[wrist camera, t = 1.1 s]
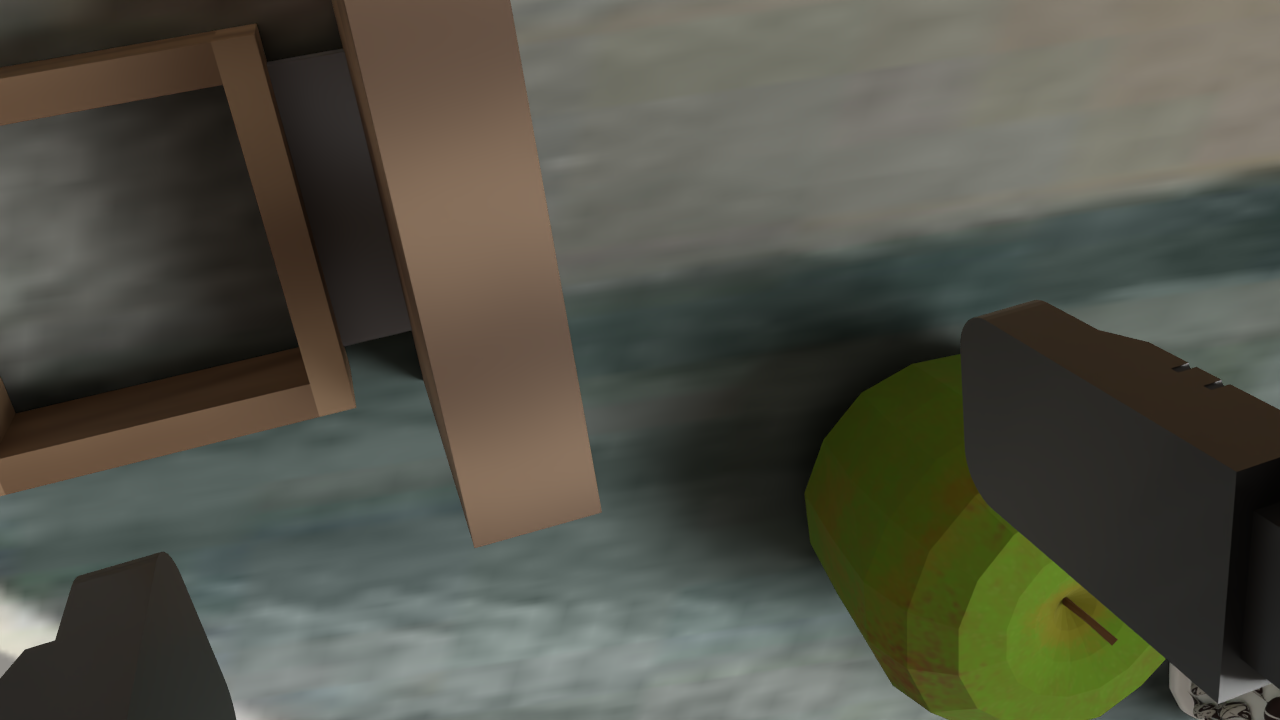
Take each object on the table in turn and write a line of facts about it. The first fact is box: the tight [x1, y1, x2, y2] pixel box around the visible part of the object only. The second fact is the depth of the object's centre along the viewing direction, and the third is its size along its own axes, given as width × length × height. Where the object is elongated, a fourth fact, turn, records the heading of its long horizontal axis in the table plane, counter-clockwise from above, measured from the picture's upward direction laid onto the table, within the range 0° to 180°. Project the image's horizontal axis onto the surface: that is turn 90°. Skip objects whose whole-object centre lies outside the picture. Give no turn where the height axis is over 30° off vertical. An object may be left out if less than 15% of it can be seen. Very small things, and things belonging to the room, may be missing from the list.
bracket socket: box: [0, 0, 602, 548], centre depth 26 cm, size 12×15×10 cm
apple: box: [804, 354, 1165, 720], centre depth 36 cm, size 11×11×11 cm
